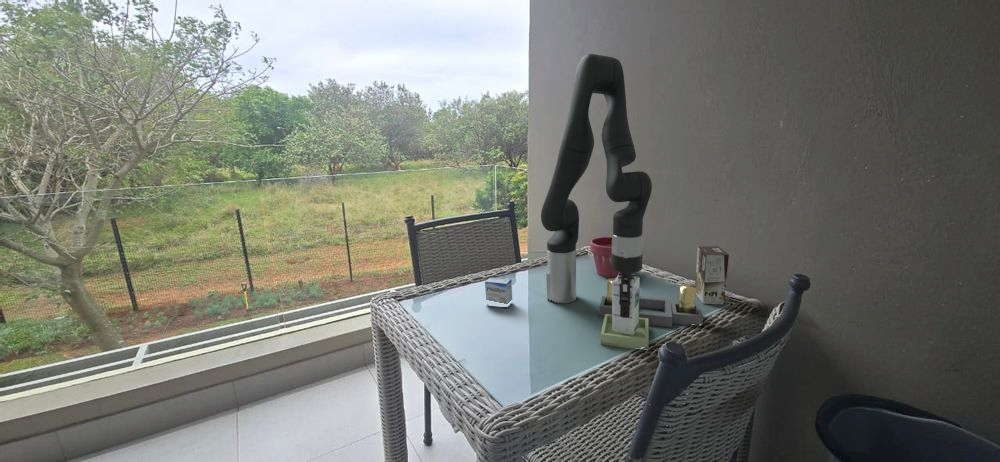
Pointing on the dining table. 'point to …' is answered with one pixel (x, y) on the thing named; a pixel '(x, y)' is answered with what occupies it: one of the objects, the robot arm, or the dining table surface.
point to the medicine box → (498, 290)
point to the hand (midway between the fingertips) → (625, 311)
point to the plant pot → (603, 256)
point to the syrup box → (632, 322)
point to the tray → (625, 335)
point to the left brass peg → (609, 292)
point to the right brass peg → (687, 298)
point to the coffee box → (711, 274)
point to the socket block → (660, 319)
